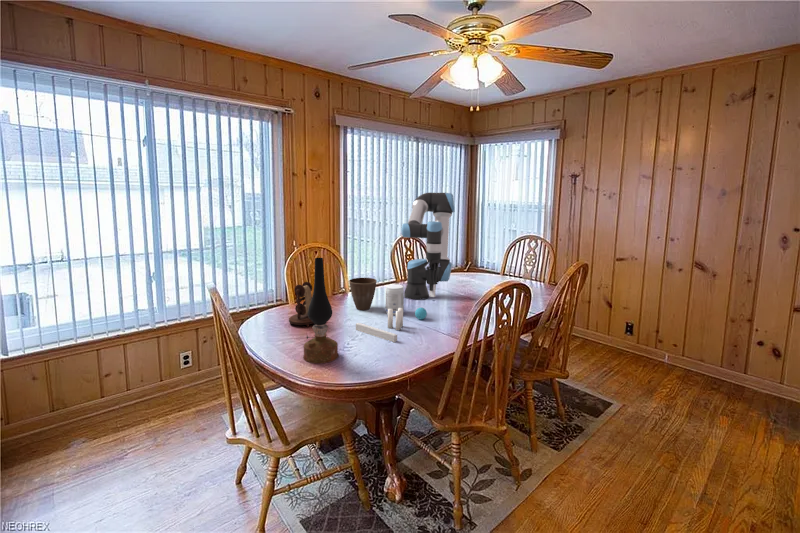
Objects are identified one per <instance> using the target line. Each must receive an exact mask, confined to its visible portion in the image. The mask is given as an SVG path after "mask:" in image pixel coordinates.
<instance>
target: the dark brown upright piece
mask: <svg viewBox="0 0 800 533" xmlns="http://www.w3.org/2000/svg"><path fill="white" fill-rule="evenodd" d="M312 291H313V286H312V284H311V282H309V281H304V282H303V283H302V284H296V285H295V287H294V293H295V295H296V299H295V303H296V305H295V306H294V307H295V308H294V309H295V312H296V313H294V314H293V315H291V316H289V318H288V323H289V325H290V324H291V325H298V326H304V325H306V328H308V327H310V325H312V324H313V325H314V322H312V321H311V320H310V319H309V317H308V308H309V305H310V302H311V299H312ZM302 301H303V302H302ZM301 302H302V303H301Z"/></svg>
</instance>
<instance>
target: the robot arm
mask: <svg viewBox="0 0 800 533" xmlns="http://www.w3.org/2000/svg"><path fill="white" fill-rule="evenodd" d="M411 208H412V210H411V213H410V216H409V219H408V222H406V223H402V225H401V236H402V237H403V238H407V239H411V238H413V239H414V238H416V239H426V254H425V256H426V257H425V258H415V259H410V260H409V261H408V262H407V268H406V269H407V275H406V276H407V278H406V279H407V280H406V281H407V282H406V287H405V291H404V299H405V298H406V299H408V300H415V301H419V300H425V299H428V298H429V297H431V298H436V290H437V288H436V287H437V285H438V284H439V282H442V283H443V282H448V281H449V280H450V278H451V273H452V267H453V266H452V265H453V263H452V262H450V261H451V260H450V258H449V257H448V254H449V253H448V251H449V249H448V248H449V235H450V234H449V233H450V232H449V231H450V229H449V228H450V218H451V217H452V216H453V213H455V201H454V195H453V193H451V192H424V193H422V194H420V195H419V196H417V197H416V198H415V199H414V201H413V202H412V207H411ZM427 212H429V213H430V212H432V215H433V216H434V220H433V221H432V220H431V221H428V222H426V223H423V220H424V218H425V215H426V213H427ZM427 285H429V288H428V286H427ZM428 290H429V291H428Z"/></svg>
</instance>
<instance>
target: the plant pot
mask: <svg viewBox="0 0 800 533" xmlns="http://www.w3.org/2000/svg"><path fill="white" fill-rule="evenodd" d="M348 283H349V288H350V293H351V297H352V301H353V303H354V306H355V309H356V310H358V311H368V310H370V309H371V307H372V304H373V300H374V296H375V293H376V288H377V279H376V278H372V277H354V278H351V279H349V282H348Z"/></svg>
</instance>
